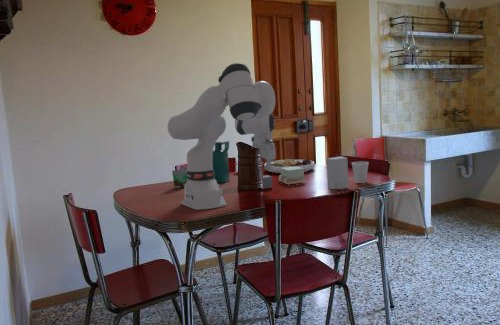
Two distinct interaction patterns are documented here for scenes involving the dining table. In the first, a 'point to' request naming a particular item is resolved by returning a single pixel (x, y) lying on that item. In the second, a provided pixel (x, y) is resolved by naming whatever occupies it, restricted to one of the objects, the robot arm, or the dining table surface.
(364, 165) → the dixie cup
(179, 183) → the food container
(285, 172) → the tower top
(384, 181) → the dining table surface
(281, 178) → the tower base
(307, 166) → the bowl
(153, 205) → the dining table surface
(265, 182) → the grey block
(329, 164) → the skincare box
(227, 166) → the teal gas canister
